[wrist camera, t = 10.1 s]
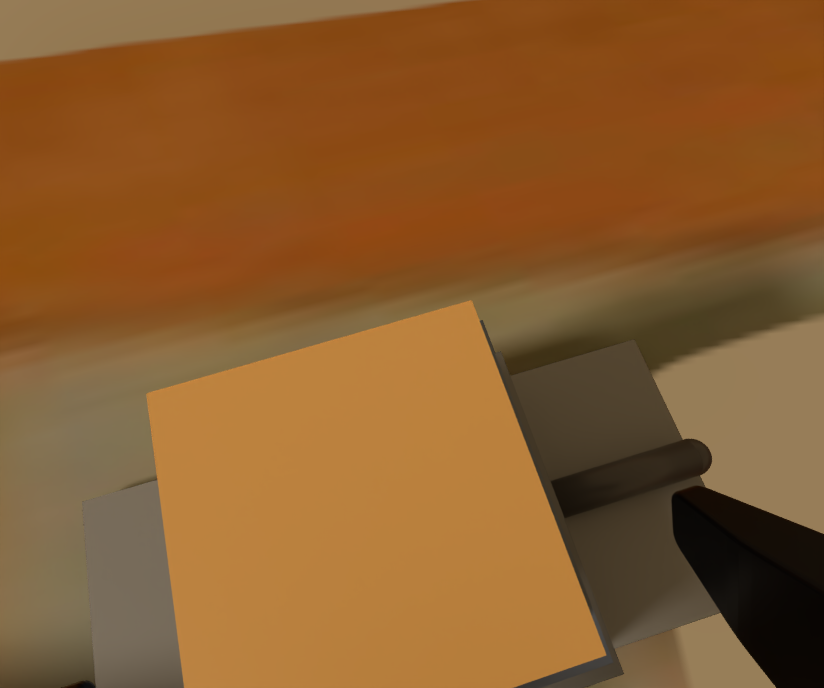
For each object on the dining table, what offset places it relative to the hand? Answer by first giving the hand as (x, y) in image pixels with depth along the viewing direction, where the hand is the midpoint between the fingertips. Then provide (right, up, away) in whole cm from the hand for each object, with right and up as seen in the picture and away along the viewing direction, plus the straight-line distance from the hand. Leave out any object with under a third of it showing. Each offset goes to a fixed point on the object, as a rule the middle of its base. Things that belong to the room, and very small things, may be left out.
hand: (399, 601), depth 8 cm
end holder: (0, -3, +11) cm, 11 cm away
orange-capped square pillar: (0, -3, +10) cm, 10 cm away
